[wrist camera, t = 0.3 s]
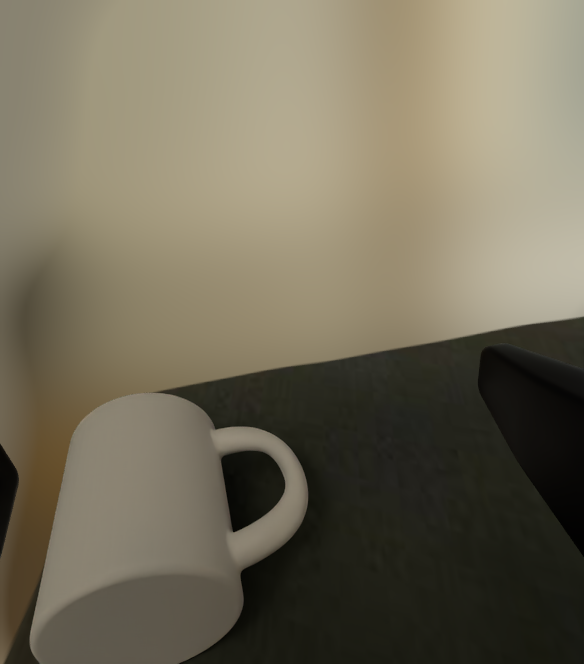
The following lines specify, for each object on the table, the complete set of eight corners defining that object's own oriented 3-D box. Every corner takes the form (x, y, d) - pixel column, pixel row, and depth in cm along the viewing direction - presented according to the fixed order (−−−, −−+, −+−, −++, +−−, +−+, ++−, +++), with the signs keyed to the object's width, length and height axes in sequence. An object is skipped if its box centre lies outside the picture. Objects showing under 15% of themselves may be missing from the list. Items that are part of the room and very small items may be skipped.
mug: (90, 701, 19) (-22, 629, 14) (108, 506, 27) (41, 420, 22) (345, 599, 20) (319, 502, 16) (290, 442, 28) (262, 348, 24)
